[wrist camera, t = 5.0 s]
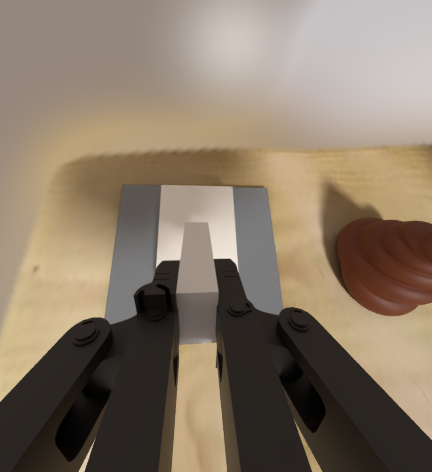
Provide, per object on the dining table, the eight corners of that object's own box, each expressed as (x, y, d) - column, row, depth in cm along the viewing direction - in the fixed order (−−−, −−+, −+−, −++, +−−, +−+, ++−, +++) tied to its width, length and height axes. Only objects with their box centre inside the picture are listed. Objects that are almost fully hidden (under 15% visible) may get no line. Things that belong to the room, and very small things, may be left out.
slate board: (265, 190, 23) (267, 187, 23) (283, 330, 19) (286, 330, 18) (124, 187, 22) (122, 184, 21) (104, 338, 17) (101, 340, 16)
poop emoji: (323, 223, 23) (402, 172, 14) (390, 224, 24) (505, 176, 15) (342, 316, 20) (462, 326, 11) (420, 314, 20) (590, 321, 12)
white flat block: (234, 290, 19) (229, 197, 22) (239, 289, 17) (232, 186, 20) (159, 293, 18) (164, 196, 21) (154, 291, 16) (161, 184, 19)
